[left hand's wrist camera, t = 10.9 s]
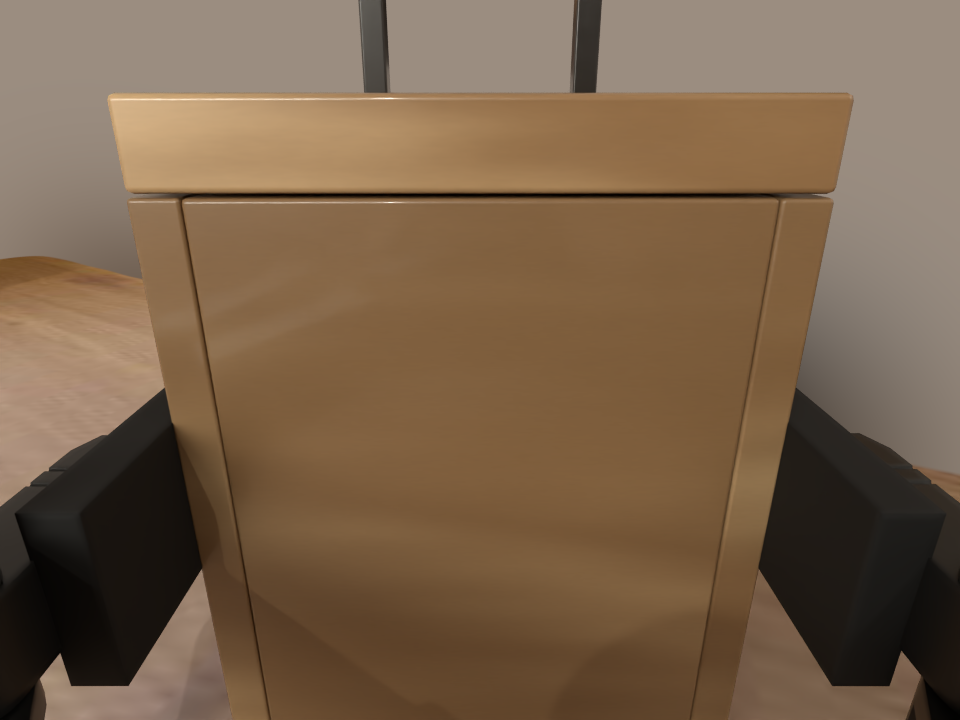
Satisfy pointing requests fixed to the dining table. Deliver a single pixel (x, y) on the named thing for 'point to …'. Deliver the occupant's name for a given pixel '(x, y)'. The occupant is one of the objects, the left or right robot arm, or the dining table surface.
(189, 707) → the dining table surface
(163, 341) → the chest
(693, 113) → the lid
